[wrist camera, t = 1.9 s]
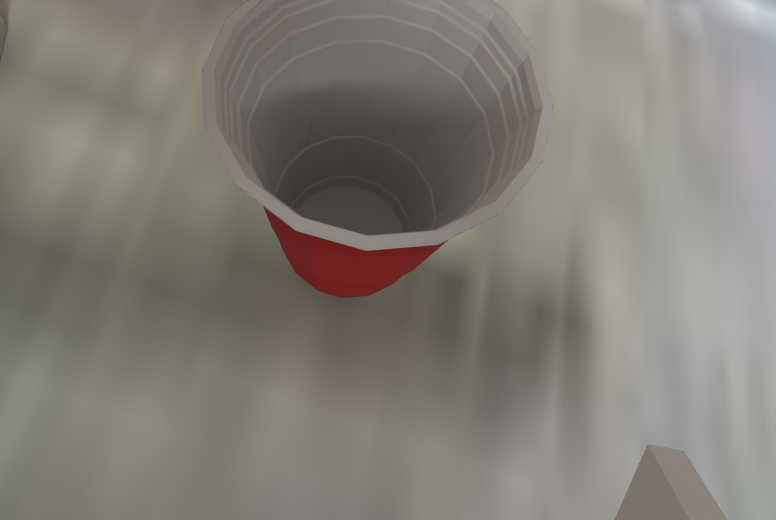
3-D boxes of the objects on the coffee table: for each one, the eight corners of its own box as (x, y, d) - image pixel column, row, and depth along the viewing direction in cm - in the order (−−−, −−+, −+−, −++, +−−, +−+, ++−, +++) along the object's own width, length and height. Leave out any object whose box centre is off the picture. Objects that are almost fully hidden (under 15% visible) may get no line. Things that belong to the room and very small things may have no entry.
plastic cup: (296, 98, 35) (311, -109, 24) (492, 200, 34) (600, 39, 23) (172, 278, 30) (119, 129, 19) (395, 397, 30) (470, 314, 19)
